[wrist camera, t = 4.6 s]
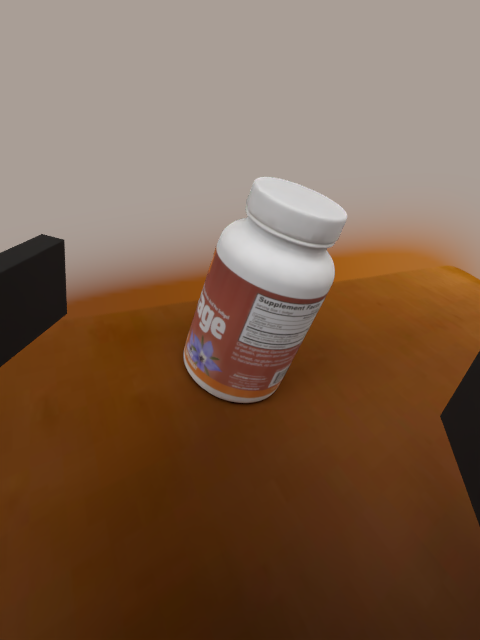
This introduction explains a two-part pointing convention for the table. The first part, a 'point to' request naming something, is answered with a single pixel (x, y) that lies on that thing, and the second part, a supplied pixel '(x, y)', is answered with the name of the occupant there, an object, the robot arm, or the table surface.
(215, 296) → the pill bottle
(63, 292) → the robot arm
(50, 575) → the table surface
